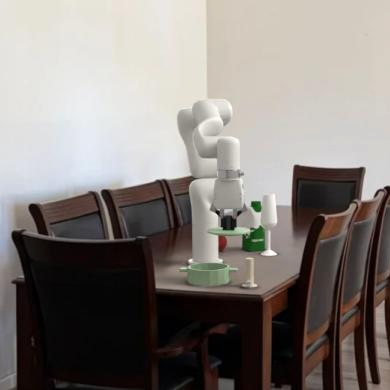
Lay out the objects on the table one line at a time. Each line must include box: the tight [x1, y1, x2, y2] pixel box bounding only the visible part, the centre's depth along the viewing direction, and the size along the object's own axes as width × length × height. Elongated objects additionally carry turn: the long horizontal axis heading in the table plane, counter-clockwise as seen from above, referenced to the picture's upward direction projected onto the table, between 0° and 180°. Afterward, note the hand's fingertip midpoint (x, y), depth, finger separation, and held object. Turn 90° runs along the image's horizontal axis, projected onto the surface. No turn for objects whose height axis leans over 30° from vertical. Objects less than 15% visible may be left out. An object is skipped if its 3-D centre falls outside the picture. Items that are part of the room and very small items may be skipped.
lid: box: [207, 214, 250, 237], centre depth 261 cm, size 14×14×6 cm
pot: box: [179, 262, 239, 287], centre depth 258 cm, size 13×19×6 cm
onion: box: [218, 236, 228, 252], centre depth 315 cm, size 6×6×8 cm
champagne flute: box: [260, 192, 278, 257], centre depth 309 cm, size 7×7×24 cm
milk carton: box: [240, 200, 266, 252], centre depth 319 cm, size 9×9×20 cm
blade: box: [241, 257, 258, 289], centre depth 252 cm, size 8×5×10 cm, turn 0°
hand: (228, 229), depth 261 cm, fingers closed on lid, 2 cm apart
